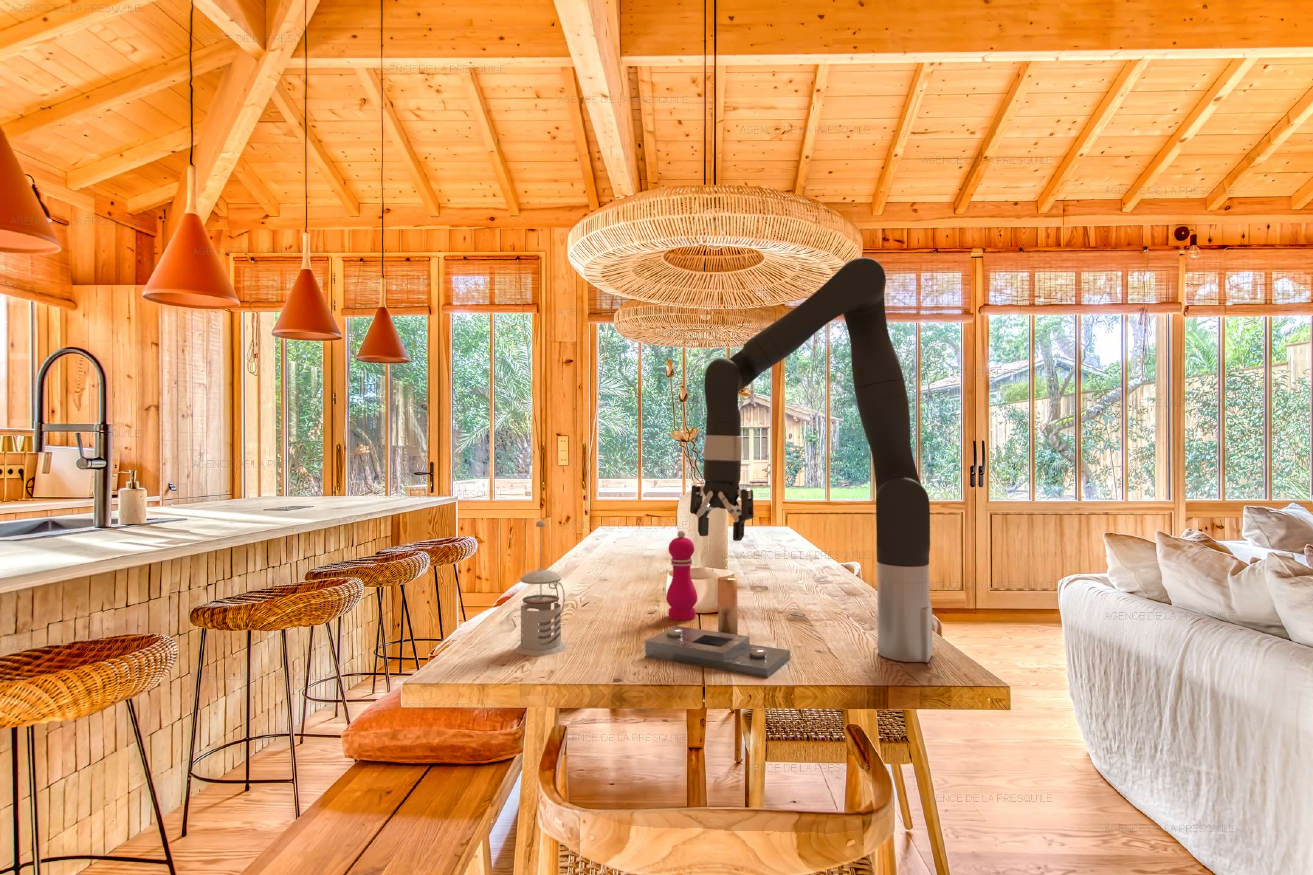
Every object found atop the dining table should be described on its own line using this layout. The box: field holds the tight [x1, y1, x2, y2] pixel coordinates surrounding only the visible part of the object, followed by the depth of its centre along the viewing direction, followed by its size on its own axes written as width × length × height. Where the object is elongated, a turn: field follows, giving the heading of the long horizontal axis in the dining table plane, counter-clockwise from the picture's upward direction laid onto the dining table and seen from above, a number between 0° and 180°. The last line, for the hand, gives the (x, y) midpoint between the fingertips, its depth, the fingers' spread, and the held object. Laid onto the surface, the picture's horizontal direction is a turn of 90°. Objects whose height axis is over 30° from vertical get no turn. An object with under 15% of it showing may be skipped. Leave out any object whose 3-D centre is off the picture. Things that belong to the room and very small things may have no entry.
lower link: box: [673, 643, 791, 679], centre depth 121 cm, size 18×12×2 cm, turn 60°
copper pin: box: [717, 576, 739, 635], centre depth 137 cm, size 4×4×12 cm
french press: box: [515, 520, 567, 657], centre depth 131 cm, size 10×12×25 cm
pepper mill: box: [665, 530, 698, 621], centre depth 154 cm, size 7×7×20 cm
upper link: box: [644, 625, 751, 663], centre depth 125 cm, size 16×12×4 cm
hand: (720, 538), depth 134 cm, fingers open, 8 cm apart
